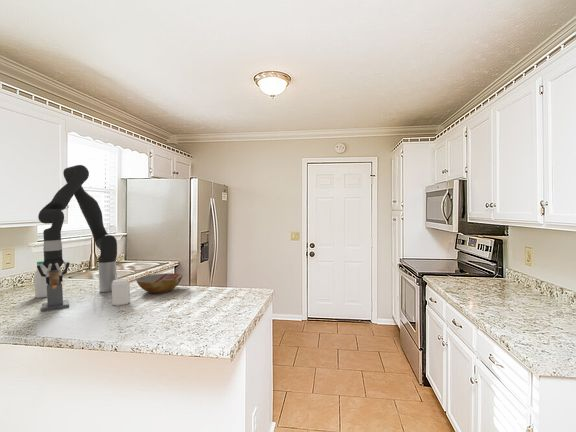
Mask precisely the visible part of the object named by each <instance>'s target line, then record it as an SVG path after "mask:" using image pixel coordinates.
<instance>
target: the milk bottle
mask: <svg viewBox="0 0 576 432" xmlns="http://www.w3.org/2000/svg"><path fill="white" fill-rule="evenodd" d="M43 262H44V260H39V261H37V262H36V266H37V265H40V264H43ZM42 271H43V273H44V274H46V273H47V268H46V267H45V266H44V265H43V268H42ZM33 281H34V282H33V283H34V284H33V285H34V297H35V299H36V298H37V299H40V298H47V283H46V277H42V276H41V275H40V273H39V270H38V268H37V267H36V271H35V273H34V277H33Z"/></svg>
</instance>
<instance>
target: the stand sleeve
mask: <svg viewBox="0 0 576 432" xmlns="http://www.w3.org/2000/svg"><path fill="white" fill-rule="evenodd" d="M63 291H64V290H63V281H62V282H61V283H59V284H57V285H48V284H47V297H46V299H47V300H46V301H47V302H46V303H45V302H43V303H41V310H40V311H41V312H49V311H55V310H60V309H61V310H62V309H66V308H70V302H69V299H65V300H64V296H63V295H64V294H63V293H64V292H63Z"/></svg>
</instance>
